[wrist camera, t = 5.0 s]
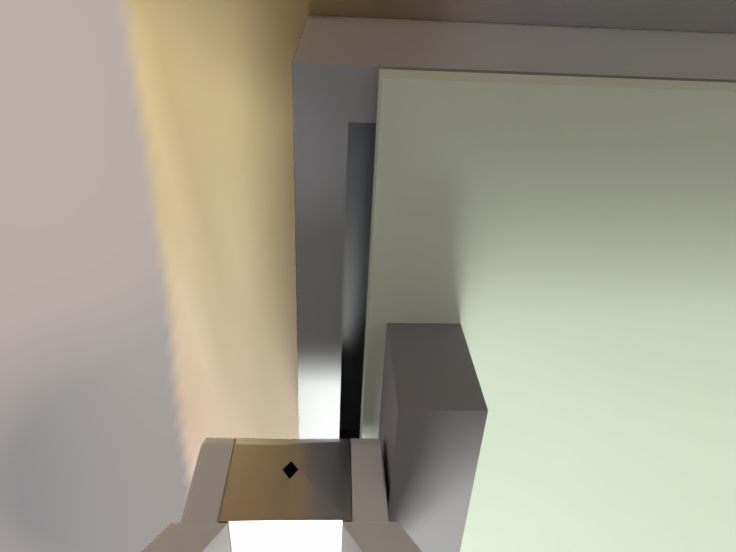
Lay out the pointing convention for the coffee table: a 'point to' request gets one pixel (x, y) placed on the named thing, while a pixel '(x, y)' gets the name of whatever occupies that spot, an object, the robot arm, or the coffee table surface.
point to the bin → (357, 151)
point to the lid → (554, 312)
